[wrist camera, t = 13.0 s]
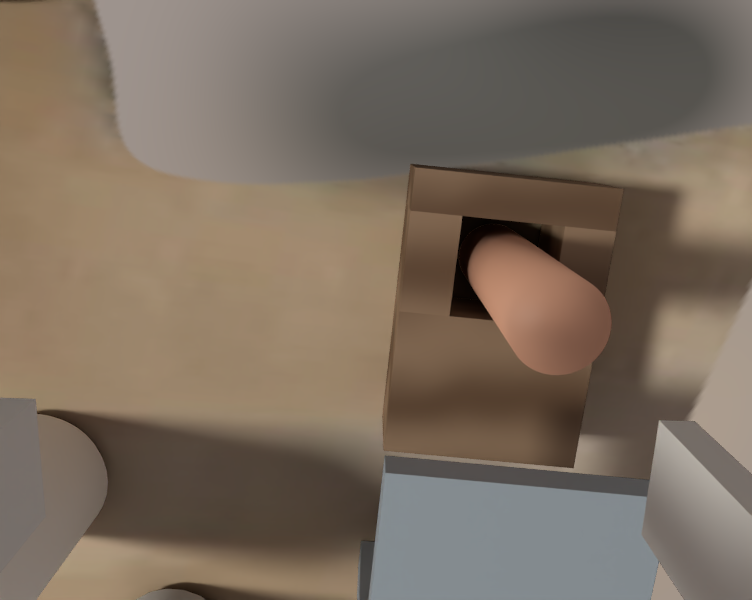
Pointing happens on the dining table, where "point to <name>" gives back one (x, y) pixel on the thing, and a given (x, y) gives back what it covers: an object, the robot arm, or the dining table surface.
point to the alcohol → (58, 507)
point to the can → (170, 595)
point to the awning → (505, 535)
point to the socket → (486, 321)
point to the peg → (536, 301)
